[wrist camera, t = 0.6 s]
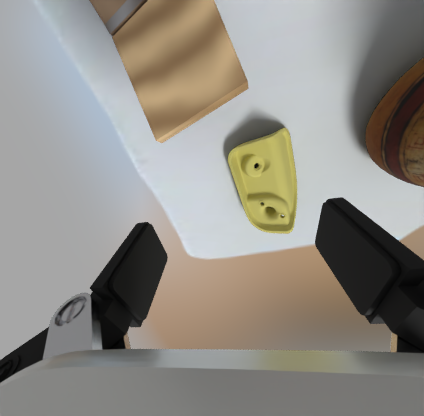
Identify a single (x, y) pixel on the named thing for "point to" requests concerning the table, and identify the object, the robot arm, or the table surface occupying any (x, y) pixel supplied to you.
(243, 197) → the plastic component
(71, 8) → the table surface
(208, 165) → the table surface
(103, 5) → the walnut board
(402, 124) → the ceramic pitcher
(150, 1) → the oak plank
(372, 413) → the robot arm
